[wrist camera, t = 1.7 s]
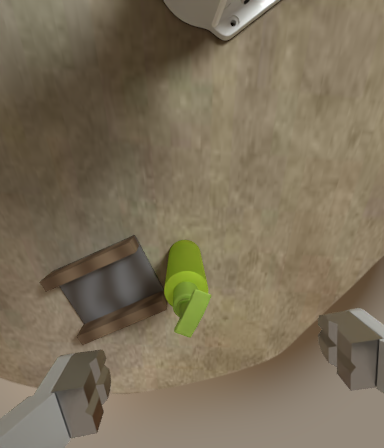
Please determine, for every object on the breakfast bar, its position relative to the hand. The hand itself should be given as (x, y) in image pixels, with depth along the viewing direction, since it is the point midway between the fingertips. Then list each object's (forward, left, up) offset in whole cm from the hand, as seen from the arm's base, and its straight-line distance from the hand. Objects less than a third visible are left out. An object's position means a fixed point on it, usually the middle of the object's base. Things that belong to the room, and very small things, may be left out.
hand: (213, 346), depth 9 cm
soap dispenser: (+4, +8, -34) cm, 35 cm away
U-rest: (+20, +8, -34) cm, 40 cm away
